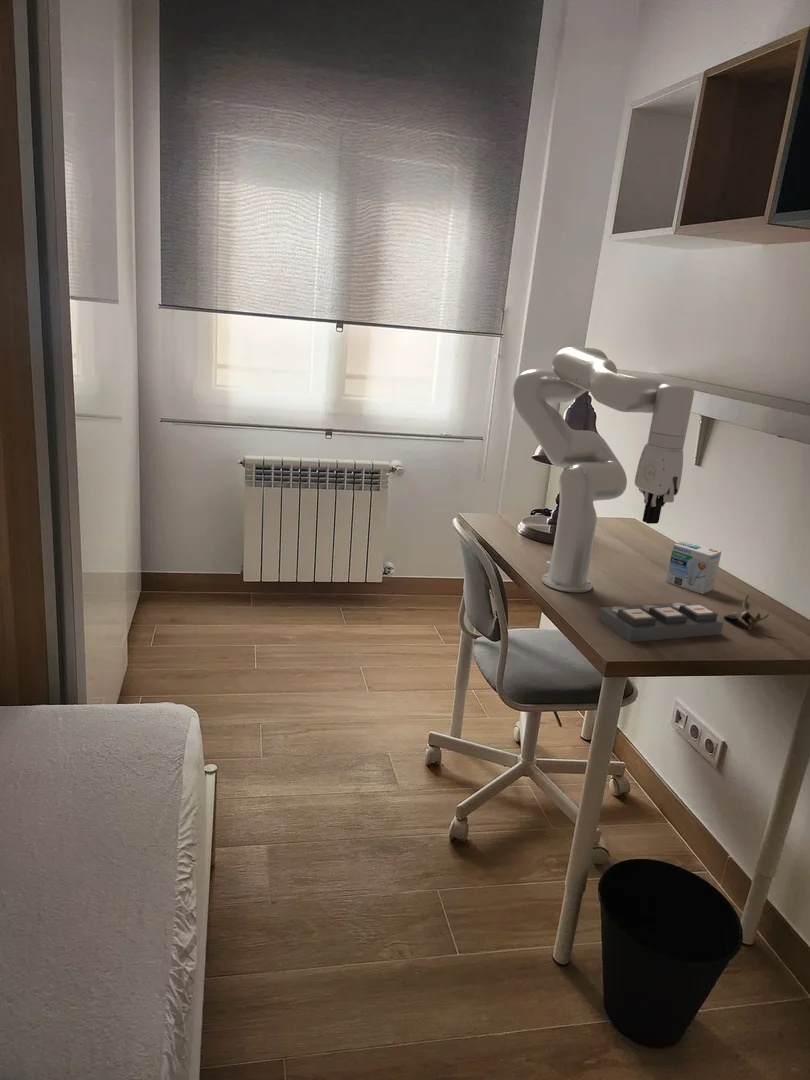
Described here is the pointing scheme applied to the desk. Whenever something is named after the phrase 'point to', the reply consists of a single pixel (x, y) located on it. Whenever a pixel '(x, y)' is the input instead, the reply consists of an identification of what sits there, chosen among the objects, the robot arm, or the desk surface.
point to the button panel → (660, 623)
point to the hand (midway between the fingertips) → (650, 522)
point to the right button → (698, 609)
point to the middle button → (668, 612)
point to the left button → (637, 613)
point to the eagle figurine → (746, 615)
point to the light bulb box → (693, 567)
